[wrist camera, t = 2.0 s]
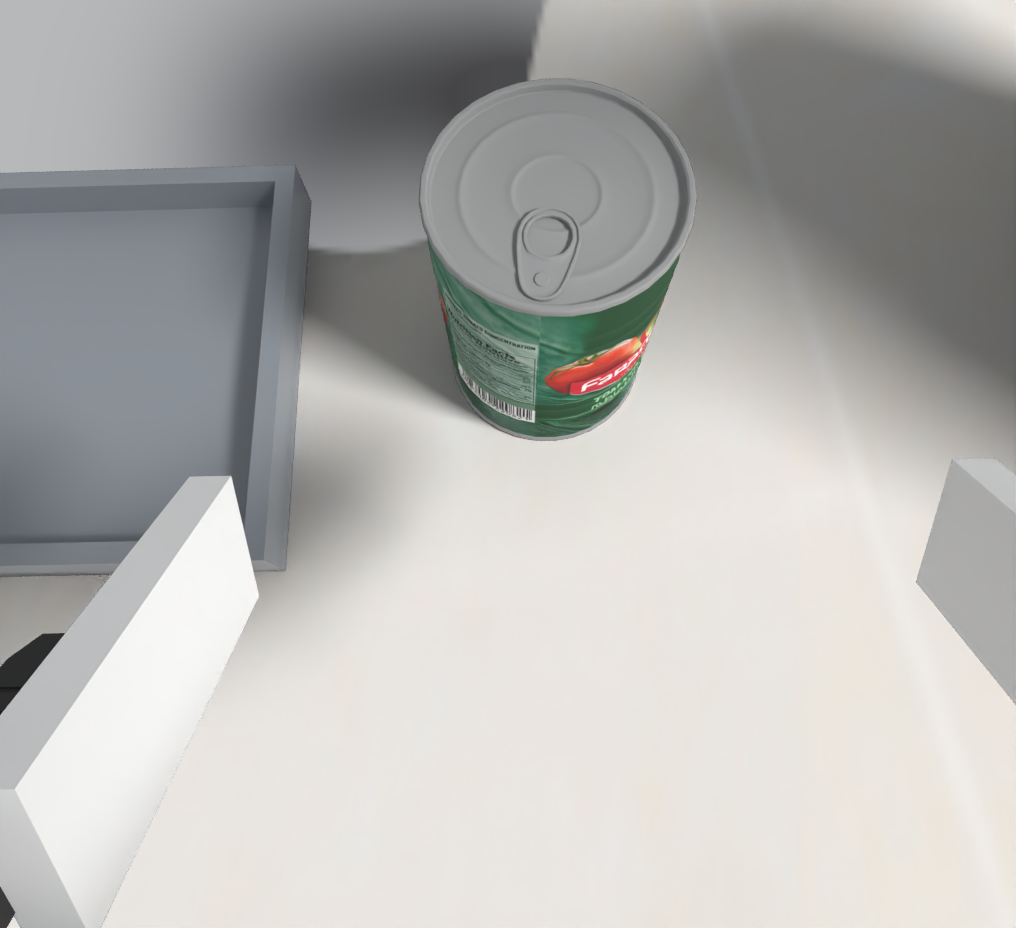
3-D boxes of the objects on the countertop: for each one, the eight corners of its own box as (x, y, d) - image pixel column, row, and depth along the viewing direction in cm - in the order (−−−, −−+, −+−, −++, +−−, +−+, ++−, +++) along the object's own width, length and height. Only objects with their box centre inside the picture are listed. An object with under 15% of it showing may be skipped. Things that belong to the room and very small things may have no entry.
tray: (311, 202, 33) (295, 164, 31) (285, 570, 29) (263, 560, 26) (-55, 211, 34) (-99, 175, 31) (-144, 579, 29) (-204, 570, 26)
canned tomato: (470, 263, 32) (446, 60, 22) (646, 286, 32) (708, 90, 21) (437, 428, 30) (392, 291, 20) (626, 456, 30) (684, 330, 19)
